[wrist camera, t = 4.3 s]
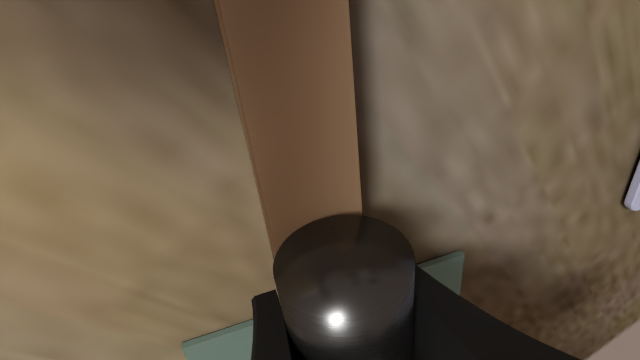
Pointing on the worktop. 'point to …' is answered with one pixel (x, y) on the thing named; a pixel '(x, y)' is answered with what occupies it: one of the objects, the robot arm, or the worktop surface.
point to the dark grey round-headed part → (347, 290)
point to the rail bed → (295, 107)
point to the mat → (236, 341)
